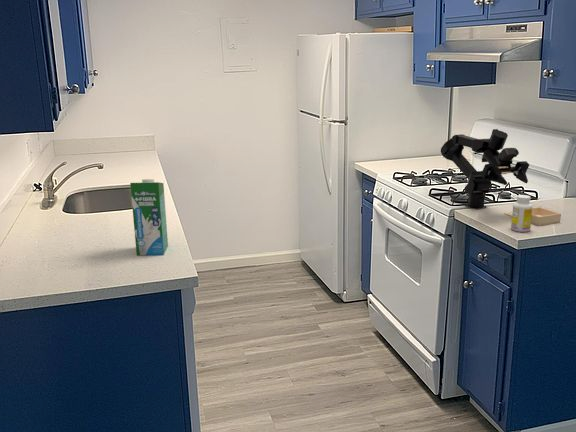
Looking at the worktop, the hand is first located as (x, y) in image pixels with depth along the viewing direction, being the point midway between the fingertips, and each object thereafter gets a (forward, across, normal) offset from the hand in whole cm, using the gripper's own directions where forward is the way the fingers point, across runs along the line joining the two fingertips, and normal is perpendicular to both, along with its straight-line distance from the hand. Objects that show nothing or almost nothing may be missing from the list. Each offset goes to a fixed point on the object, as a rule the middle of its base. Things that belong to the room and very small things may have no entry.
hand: (516, 183), depth 220 cm
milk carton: (-4, -135, +20) cm, 137 cm away
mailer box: (+3, +11, +16) cm, 20 cm away
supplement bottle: (+14, -2, +11) cm, 18 cm away
